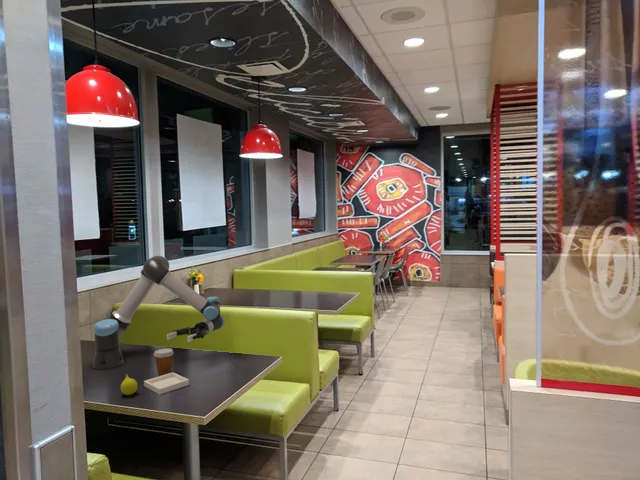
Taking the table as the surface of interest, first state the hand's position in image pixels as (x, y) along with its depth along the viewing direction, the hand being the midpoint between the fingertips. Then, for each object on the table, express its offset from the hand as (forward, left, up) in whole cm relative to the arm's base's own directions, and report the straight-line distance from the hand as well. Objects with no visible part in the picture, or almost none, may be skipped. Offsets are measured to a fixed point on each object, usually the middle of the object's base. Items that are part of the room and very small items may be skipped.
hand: (177, 338), depth 242 cm
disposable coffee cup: (+3, -9, -16) cm, 19 cm away
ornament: (+15, -33, -16) cm, 39 cm away
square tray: (+18, -16, -16) cm, 29 cm away
